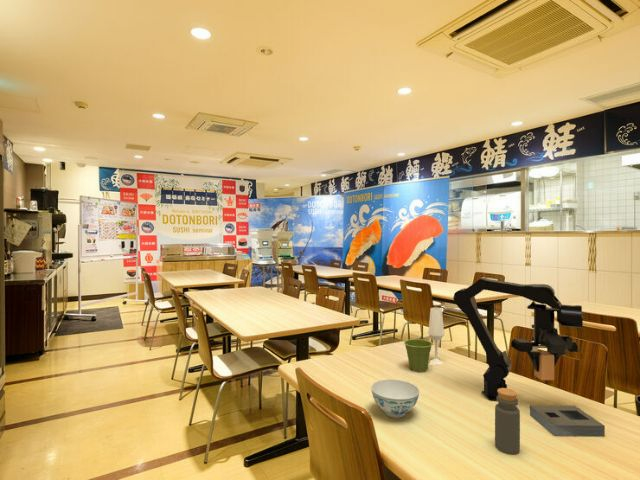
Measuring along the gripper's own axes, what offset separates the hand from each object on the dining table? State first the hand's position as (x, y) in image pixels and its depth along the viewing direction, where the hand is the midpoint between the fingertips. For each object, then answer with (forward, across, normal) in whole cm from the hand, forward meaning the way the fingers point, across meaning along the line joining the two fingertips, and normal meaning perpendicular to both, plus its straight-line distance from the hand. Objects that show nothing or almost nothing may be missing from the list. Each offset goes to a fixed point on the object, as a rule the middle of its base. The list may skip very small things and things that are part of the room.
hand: (544, 371), depth 117 cm
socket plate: (+12, 0, -11) cm, 16 cm away
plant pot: (+12, -32, +34) cm, 49 cm away
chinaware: (+12, -49, -3) cm, 51 cm away
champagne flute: (+12, -22, +42) cm, 49 cm away
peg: (+2, 0, 0) cm, 2 cm away
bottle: (+12, -23, -22) cm, 35 cm away
